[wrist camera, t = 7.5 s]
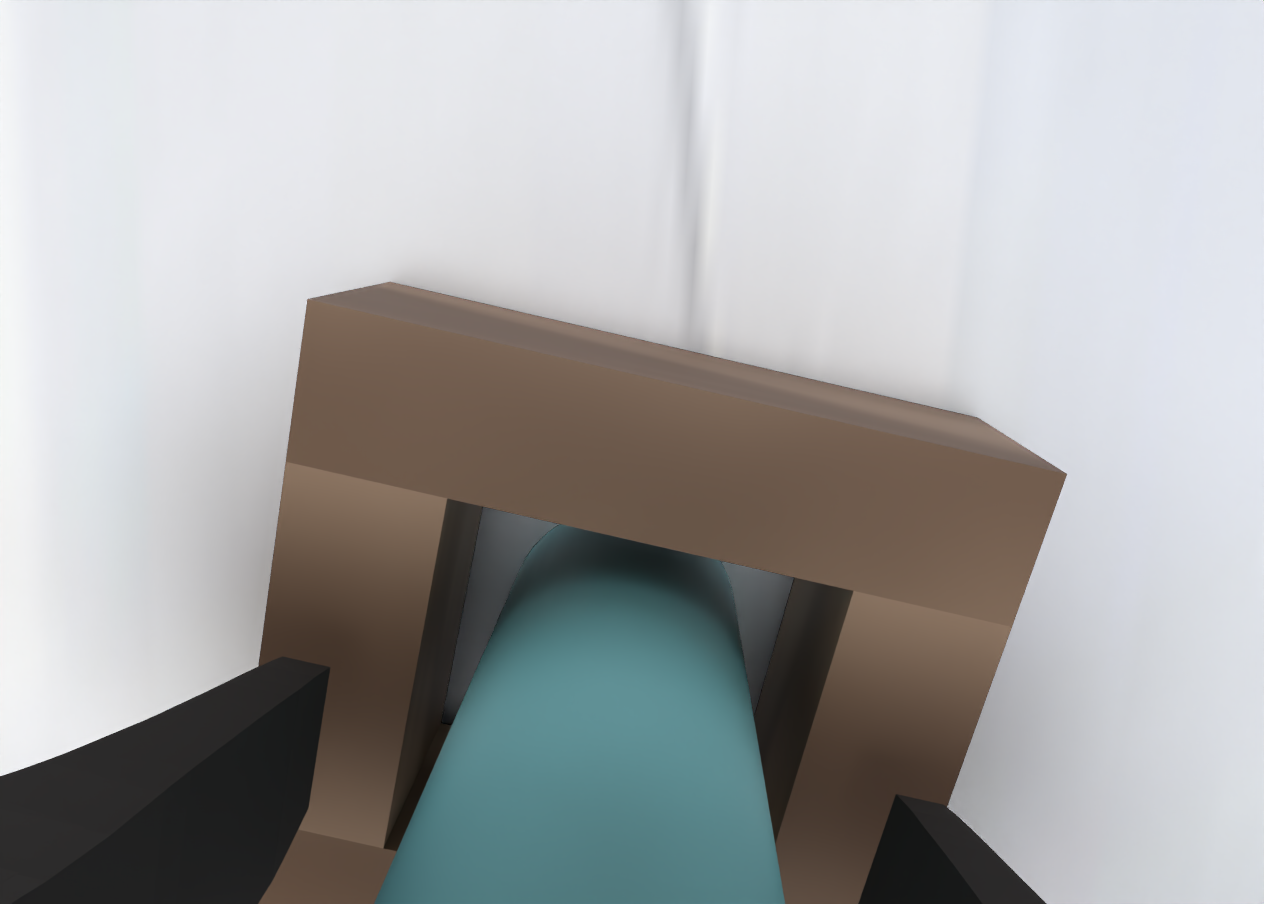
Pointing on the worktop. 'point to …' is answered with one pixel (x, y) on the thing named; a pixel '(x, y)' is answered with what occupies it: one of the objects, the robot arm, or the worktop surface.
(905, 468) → the socket block
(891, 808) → the robot arm
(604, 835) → the peg
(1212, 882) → the worktop surface
